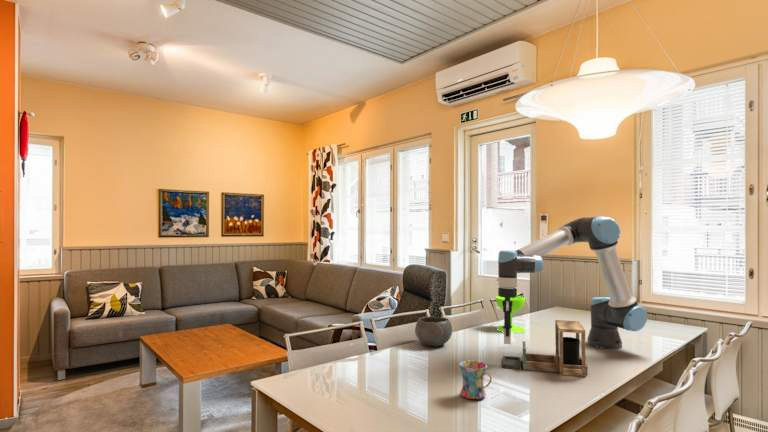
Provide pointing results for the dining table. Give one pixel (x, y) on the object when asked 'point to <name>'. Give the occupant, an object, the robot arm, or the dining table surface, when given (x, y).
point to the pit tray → (511, 362)
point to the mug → (473, 379)
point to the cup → (570, 350)
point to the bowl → (433, 330)
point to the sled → (546, 362)
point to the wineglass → (516, 305)
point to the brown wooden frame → (559, 329)
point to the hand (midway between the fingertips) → (507, 343)
